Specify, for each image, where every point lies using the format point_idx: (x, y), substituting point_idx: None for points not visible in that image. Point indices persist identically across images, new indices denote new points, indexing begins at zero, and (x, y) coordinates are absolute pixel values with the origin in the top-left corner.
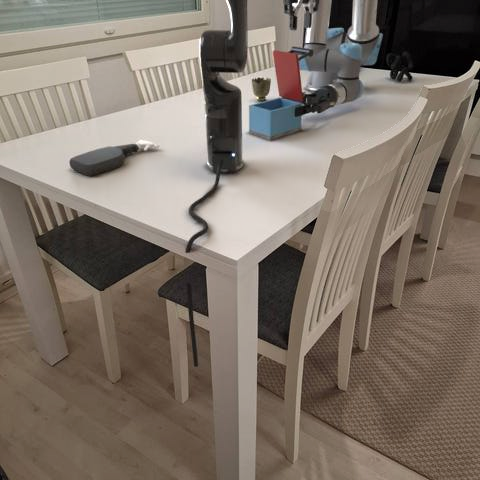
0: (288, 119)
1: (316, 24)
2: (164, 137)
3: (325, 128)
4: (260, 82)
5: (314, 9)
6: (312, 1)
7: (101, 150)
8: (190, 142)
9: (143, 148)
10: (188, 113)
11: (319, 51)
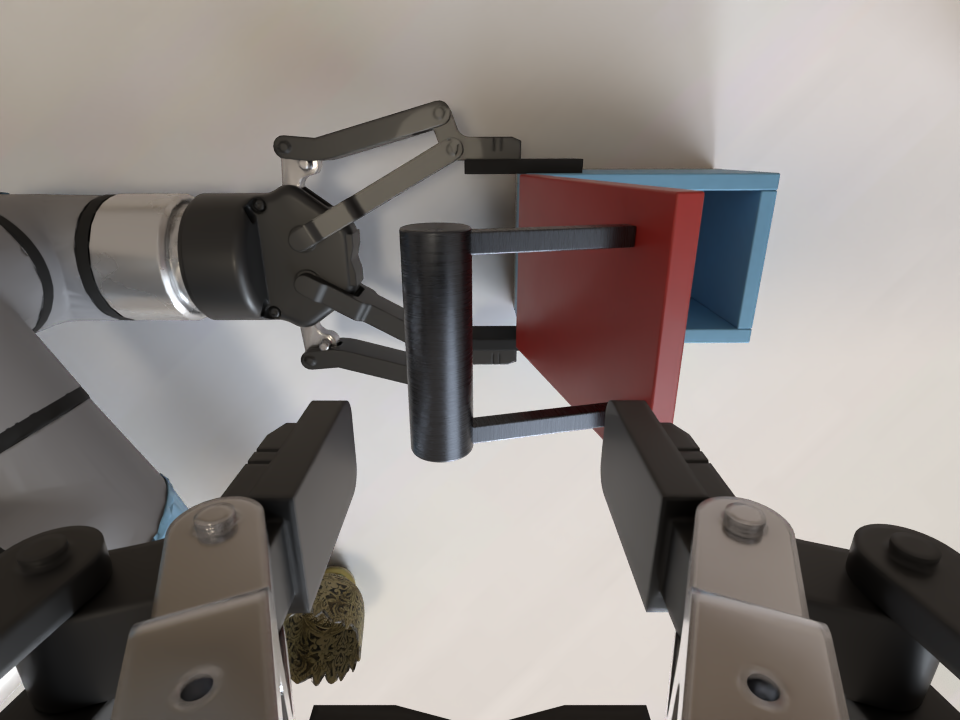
0: (619, 171)
1: None
2: (925, 478)
3: (404, 105)
4: (346, 624)
5: (102, 566)
6: (141, 691)
7: None
8: (918, 376)
9: None
10: (661, 624)
11: (30, 500)
